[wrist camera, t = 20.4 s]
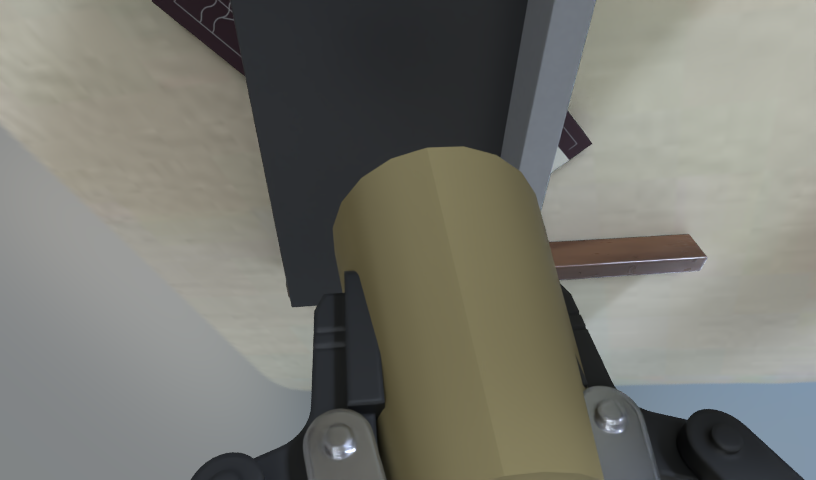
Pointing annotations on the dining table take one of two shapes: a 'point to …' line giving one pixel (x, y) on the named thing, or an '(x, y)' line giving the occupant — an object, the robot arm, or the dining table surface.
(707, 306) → the dining table surface
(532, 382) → the cork
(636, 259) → the rails
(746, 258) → the dining table surface
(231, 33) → the chocolate bar
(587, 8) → the lid
